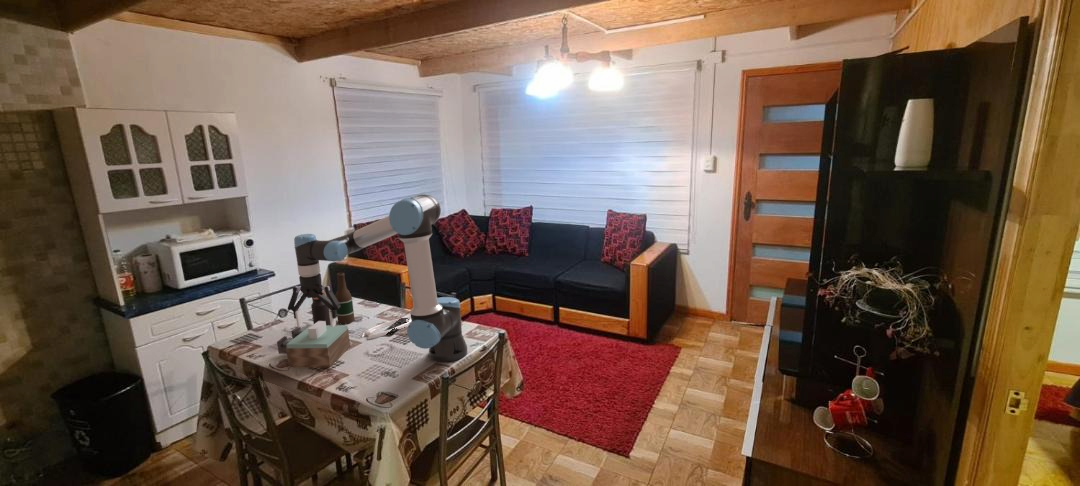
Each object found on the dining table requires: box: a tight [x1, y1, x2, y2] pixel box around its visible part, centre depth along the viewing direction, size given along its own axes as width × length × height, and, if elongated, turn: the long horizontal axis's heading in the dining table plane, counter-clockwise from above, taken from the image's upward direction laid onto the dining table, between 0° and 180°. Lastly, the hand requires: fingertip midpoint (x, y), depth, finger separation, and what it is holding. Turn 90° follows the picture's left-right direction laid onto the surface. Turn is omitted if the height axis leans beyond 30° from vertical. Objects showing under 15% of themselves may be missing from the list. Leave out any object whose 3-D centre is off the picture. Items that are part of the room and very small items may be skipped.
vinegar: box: [310, 290, 331, 325], centre depth 206 cm, size 7×7×20 cm
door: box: [283, 321, 349, 348], centre depth 186 cm, size 18×18×6 cm
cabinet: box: [276, 326, 351, 369], centre depth 187 cm, size 20×18×10 cm
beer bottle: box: [334, 272, 355, 325], centre depth 221 cm, size 8×8×24 cm
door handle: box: [360, 315, 411, 341], centre depth 214 cm, size 3×10×25 cm
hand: (316, 326), depth 185 cm, fingers open, 13 cm apart
